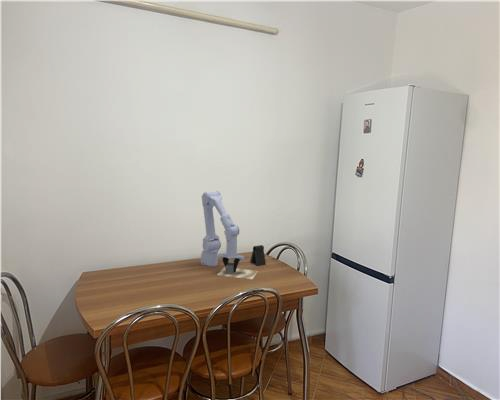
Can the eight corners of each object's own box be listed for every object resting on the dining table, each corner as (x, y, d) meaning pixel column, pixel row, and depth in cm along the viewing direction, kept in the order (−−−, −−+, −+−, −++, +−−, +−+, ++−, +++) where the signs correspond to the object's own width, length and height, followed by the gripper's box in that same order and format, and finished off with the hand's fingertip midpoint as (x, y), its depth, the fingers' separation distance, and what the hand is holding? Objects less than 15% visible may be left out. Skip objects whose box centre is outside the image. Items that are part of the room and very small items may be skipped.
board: (216, 276, 198) (216, 275, 198) (224, 268, 211) (224, 267, 211) (252, 281, 193) (252, 279, 193) (258, 272, 207) (258, 270, 207)
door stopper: (266, 266, 218) (266, 247, 216) (257, 268, 215) (258, 248, 213) (257, 262, 225) (258, 243, 224) (249, 263, 222) (250, 244, 220)
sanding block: (225, 273, 200) (225, 266, 199) (229, 269, 207) (229, 261, 207) (232, 274, 199) (232, 266, 198) (236, 270, 206) (236, 262, 206)
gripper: (216, 248, 199) (216, 271, 201) (242, 250, 196) (241, 274, 197) (220, 244, 206) (220, 268, 208) (245, 247, 202) (244, 270, 204)
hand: (230, 271), depth 203 cm, fingers closed on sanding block, 4 cm apart
